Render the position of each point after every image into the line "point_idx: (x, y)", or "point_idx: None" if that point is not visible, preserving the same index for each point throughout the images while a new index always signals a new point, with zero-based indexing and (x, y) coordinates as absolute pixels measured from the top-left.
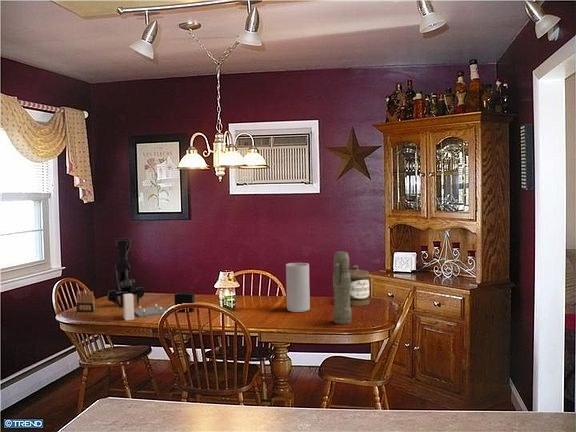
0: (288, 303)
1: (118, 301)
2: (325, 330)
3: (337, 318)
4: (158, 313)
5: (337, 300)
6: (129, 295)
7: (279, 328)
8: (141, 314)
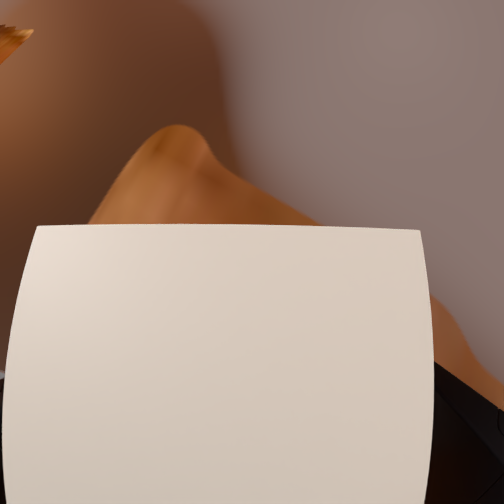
0: None
1: (476, 418)
2: (5, 27)
3: None
4: (2, 372)
5: None
6: (180, 231)
7: (14, 35)
8: None
